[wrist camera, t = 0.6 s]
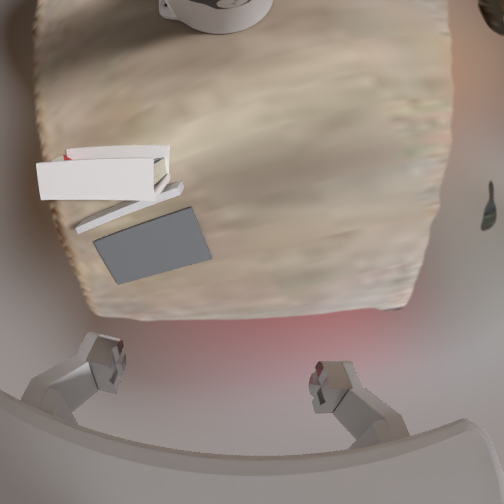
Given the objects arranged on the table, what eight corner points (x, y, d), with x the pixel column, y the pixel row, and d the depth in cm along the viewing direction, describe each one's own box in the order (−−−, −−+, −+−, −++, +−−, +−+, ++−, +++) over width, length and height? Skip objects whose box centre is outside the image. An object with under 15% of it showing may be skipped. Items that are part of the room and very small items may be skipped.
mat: (94, 240, 46) (93, 242, 45) (191, 206, 44) (191, 207, 43) (119, 282, 51) (118, 284, 50) (212, 257, 49) (211, 259, 48)
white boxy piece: (170, 145, 39) (154, 158, 31) (170, 179, 41) (155, 201, 33) (61, 149, 36) (29, 164, 28) (64, 179, 39) (34, 200, 31)
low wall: (83, 219, 43) (75, 228, 40) (181, 180, 42) (177, 187, 39) (86, 225, 44) (78, 234, 41) (184, 187, 42) (180, 194, 39)
